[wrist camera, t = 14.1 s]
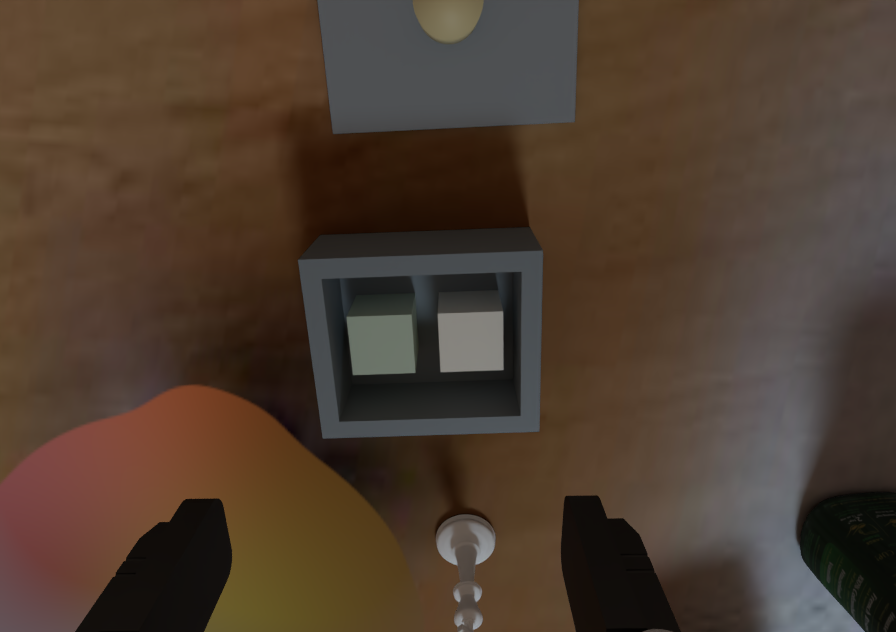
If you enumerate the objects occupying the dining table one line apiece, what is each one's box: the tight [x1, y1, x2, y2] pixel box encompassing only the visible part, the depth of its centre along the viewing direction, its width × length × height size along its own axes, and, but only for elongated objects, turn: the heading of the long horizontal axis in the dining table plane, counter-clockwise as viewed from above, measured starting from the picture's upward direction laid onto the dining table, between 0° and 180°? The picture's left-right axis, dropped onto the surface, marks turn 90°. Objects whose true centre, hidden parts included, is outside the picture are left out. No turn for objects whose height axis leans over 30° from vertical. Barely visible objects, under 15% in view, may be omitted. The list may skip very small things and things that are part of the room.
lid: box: [317, 0, 579, 134], centre depth 32 cm, size 15×13×6 cm
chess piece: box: [436, 514, 495, 632], centre depth 43 cm, size 5×5×10 cm
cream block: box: [438, 290, 503, 372], centre depth 38 cm, size 4×4×4 cm
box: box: [298, 227, 543, 438], centre depth 38 cm, size 14×12×6 cm
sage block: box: [347, 293, 419, 375], centre depth 38 cm, size 4×4×4 cm
